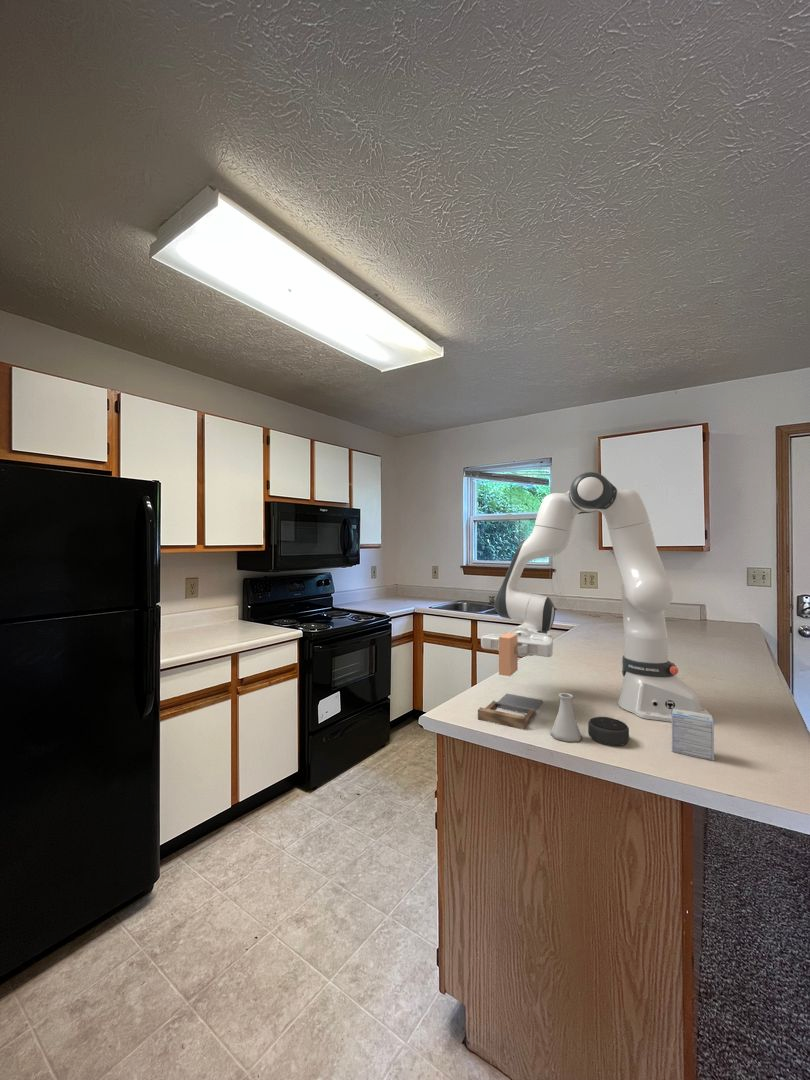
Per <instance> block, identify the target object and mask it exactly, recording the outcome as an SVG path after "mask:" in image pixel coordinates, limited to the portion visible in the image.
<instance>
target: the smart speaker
mask: <svg viewBox="0 0 810 1080" xmlns="http://www.w3.org/2000/svg"><path fill="white" fill-rule="evenodd" d="M587 731H588V732H587V733H588V736H589V737H590V738H591V739H592V740H593V741H595V742H597V743H600V744H602V745H606V746H612V747H613V746H617V747H619V746H624V745H626V744H627V743H629V740H630V729H629V727H628V725H627V724H626V723H625V722H623V721H621V720H620V719H616V718H613V717H610V716H609V717H608V716H596V717H595V716H594V717H591V718H590V719H589V720H588V723H587Z"/></svg>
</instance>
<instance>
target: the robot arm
mask: <svg viewBox="0 0 810 1080" xmlns="http://www.w3.org/2000/svg"><path fill="white" fill-rule="evenodd" d="M597 511H598V512H600V513H601V514H602V515H603V517H604V519H605V521H606V524H607V530H608V533H609V537H610V541H611V546H612V549H613V553H614V557H615V559H616V563H617V565H618V569H619V571H620V575H621V579H622V583H621V584H622V585H621V607H622V620H623V656H622V659H621V674H622V683H621V684H622V685H621V691H620V694H619V697H618V700H617V704H618V706H619V707H621V709H623V710H625V711H628V712H631V714H635V715H637V716H638V717H639V718H642V719H646V720H654V721H663V722H669V723H670V722H671V723H672V720H671V714H672V709H679V710H685V711H691V712H697V713H702V714H708V715H711V714H710V712H709V711H708V710H707V709H706V708H703V707H702V706H701V700H700V697H699V695H698V693H697V691H695V689H694V688H693V687H691V686H690V685H689V684H688V683H686V682H685V681H683V679H681V678H680V677H678V676H677V674H678V673H679V668H678V667H677V665H676V664H675V663H674V662H671V661H670V660H668V655H669V654H668V653H669V652H668V651H669V649H668V648H669V647H668V637H669V636H668V634H669V633H668V630H667V624H666V616H665V615H666V614H665V610H666V609H668V607H669V606H670V605H671V603H672V601H673V590H672V587H671V584H670V581H669V578H668V575H667V572H666V569H665V567H664V563H663V561H662V559H661V556H660V554H659V551H658V548H657V545H656V544H657V543H656V541H655V536H654V533H653V530H652V525H651V522H650V518H649V514H648V512H647V509H646V506H645V504H644V501H643V500H642V498H641V496H640V494H639V493H638V492H637V491H636V490H633V489H631V488H630V489H629V488H623V489H622V488H621V489H617V487H616V486H615V485H613V483H612V482H611V481H609V479H607V478H606V477H605V476H604V475H603V474H601V473H598V472H596V471H587V472H583V473H581V474H580V475H578V476H577V477H575V478H574V480H572V482H571V485H570V488H569V490H568V491H567V492H565V493H560V492H553V493H550V494H549V493H548V494H546V495H545V496H544V497H543V498H542V501H541V504H540V507H539V509H538V511H537V514H536V517H535V522H534V527H533V529H532V532H531V533H530V535H529V536H528V537H527V538H526V539H524V540H521V541H520V543H519V544H518V546H517V548H516V550H515V552H514V555H513V557H512V559H511V560H510V561H511V562H510V564H509V567H508V569H507V571H506V574H505V577H504V579H503V581H502V584H501V586H500V588H499V589H498V591H497V594H496V596H495V598H494V602H493V608H494V609H495V611H496V613H497V614H498V615H499V616H500V617H501V618H504V619H508V620H516V621H518V622H521V624H519V625H517V626H516V627H514V628H512V629H511V630H510V631H509V632H508V633H513V634H518V646H515V647H514V654H518V657H521V658H526V657H531V656H538V657H539V656H540V657H544V658H550V657H552V656H553V655H554V654H553V653H554V652H553V651H554V643H553V642H554V641H553V634H552V633H550V632H549V631H551V629H552V628H553V624H554V621H555V615H556V608H555V605H554V603H553V601H552V600H551V597H549V596H544V595H541V594H538V593H533V592H528V591H524V590H520V589H518V584H519V582H520V579H521V577H522V573H523V571H524V569H525V567H526V565H527V564H528V563H529V562H531V561H534V560H537V559H544V558H550V557H553V556H557V555H559V554H561V553H562V552H563V551H565V550H566V548H567V547H568V544H569V542H570V538H571V534H572V530H573V523H574V520H575V519H576V516H577V515H580V514H589V513H594V512H595V513H596V512H597ZM504 634H505V633H504ZM504 634H502V633H487V634H485V635H481V636H480V647H481V648H482V649H484V650H489V651H498V652H499V637H500V636H502V635H504Z"/></svg>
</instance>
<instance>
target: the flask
mask: <svg viewBox="0 0 810 1080" xmlns="http://www.w3.org/2000/svg"><path fill="white" fill-rule="evenodd" d="M558 697H559V699H560V701H559V707H558V712H557V715H556V718H555V720H554V723H553V726H552V728H551V731H550V735H551V737H553V738H554V739H555V740H559V741H564V742H570V743H571V742H573V743H574V742H580V741H581V740H582V737H583V736H582V734H581V731H580V728H579V726H578V723H577V720H576V716H575V713H574V710H573V704H572V702H573V701H572V699H573V698H574V696H573V694H570V693H567V692H562V693H561V692H560V693H559V695H558Z"/></svg>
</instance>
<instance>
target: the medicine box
mask: <svg viewBox="0 0 810 1080" xmlns="http://www.w3.org/2000/svg"><path fill="white" fill-rule="evenodd" d="M671 720H672V722H671V752H672V753H675V754H676V753H677V754H680V755H687V756H690V757H695V758H701V759H704V760H710V761H715V744H714V743H715V737H714V736H715V730H714V729H715V726H714V725H715V722H714V717H713V715H712V714H710V715H708V714H702V713H697V712H691V711H685V710H679V709H672V714H671Z"/></svg>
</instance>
